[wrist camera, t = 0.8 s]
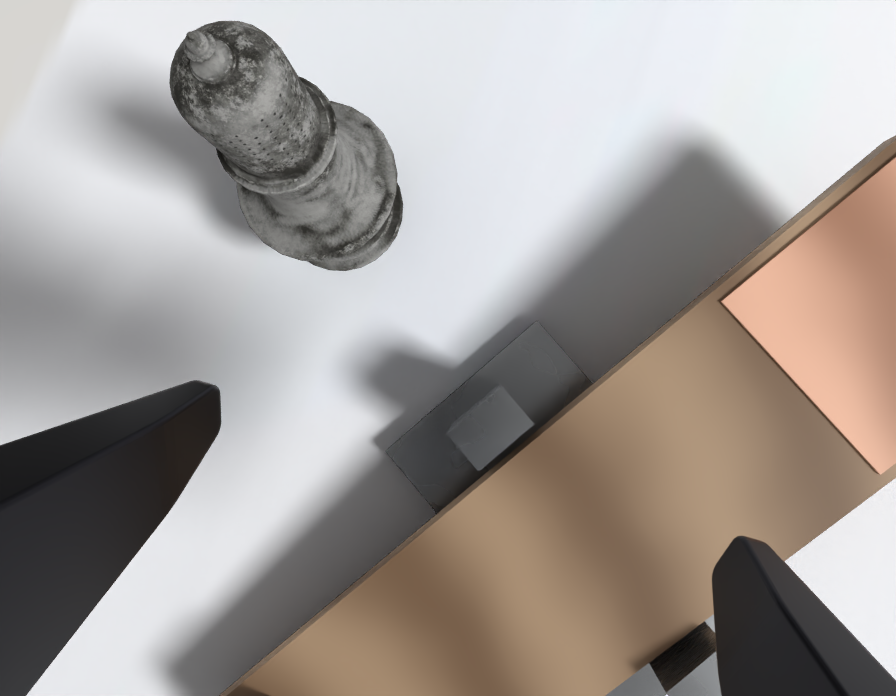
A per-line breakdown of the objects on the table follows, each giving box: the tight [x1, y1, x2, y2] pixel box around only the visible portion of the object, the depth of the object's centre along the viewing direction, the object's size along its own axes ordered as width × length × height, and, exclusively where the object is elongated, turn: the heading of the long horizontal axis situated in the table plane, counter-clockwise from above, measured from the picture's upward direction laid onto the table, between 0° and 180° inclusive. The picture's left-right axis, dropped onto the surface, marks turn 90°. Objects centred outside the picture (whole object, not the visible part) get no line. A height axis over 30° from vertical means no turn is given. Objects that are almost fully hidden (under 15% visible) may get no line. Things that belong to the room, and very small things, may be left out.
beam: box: [219, 136, 896, 696], centre depth 18 cm, size 32×8×2 cm, turn 131°
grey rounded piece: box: [169, 21, 403, 271], centre depth 17 cm, size 6×6×12 cm
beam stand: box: [386, 321, 722, 696], centre depth 20 cm, size 8×14×5 cm, turn 41°
